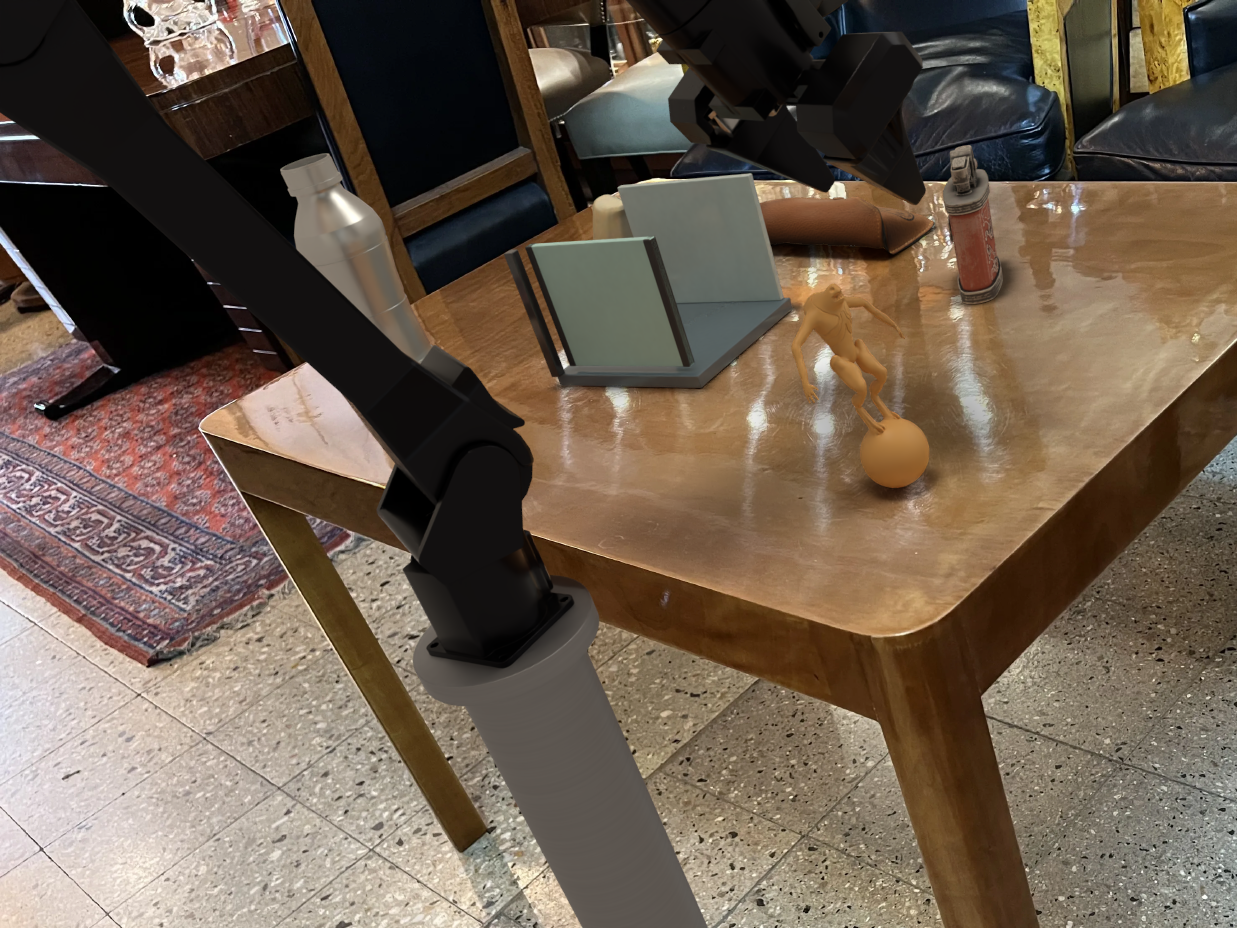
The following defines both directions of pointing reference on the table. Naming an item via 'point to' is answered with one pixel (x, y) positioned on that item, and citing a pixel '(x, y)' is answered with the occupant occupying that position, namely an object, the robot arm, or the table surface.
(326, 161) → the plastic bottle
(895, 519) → the table surface
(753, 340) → the shower stall
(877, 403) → the figurine
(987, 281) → the lighter
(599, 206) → the cream rounded block
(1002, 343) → the table surface
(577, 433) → the table surface
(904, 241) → the sunglasses case
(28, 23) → the robot arm
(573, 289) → the shower door
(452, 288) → the table surface
